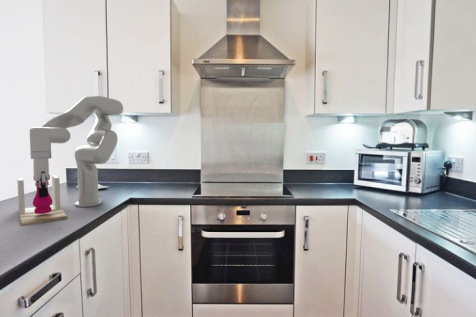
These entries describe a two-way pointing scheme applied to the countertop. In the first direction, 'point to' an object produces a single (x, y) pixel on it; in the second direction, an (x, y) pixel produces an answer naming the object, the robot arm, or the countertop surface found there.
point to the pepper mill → (42, 201)
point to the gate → (27, 210)
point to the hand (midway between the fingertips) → (42, 195)
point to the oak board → (42, 217)
